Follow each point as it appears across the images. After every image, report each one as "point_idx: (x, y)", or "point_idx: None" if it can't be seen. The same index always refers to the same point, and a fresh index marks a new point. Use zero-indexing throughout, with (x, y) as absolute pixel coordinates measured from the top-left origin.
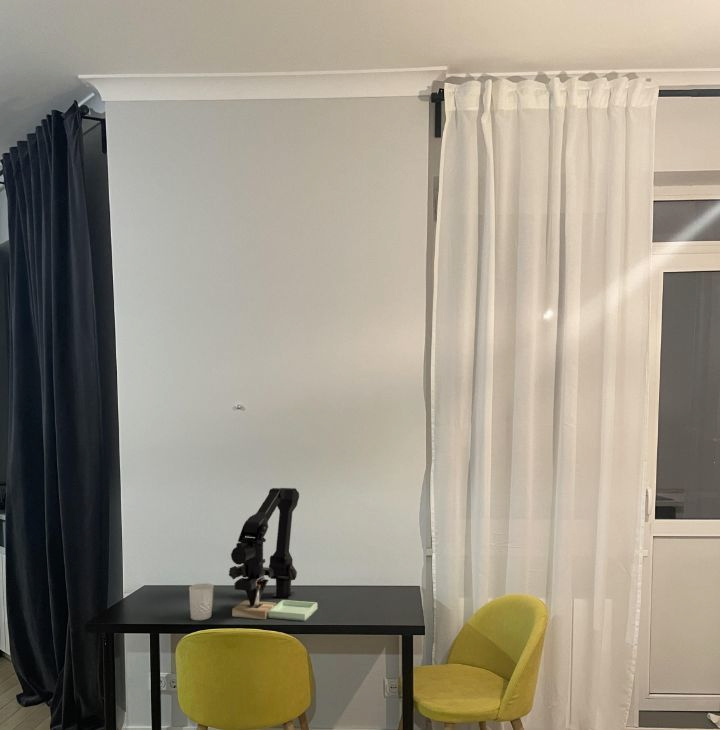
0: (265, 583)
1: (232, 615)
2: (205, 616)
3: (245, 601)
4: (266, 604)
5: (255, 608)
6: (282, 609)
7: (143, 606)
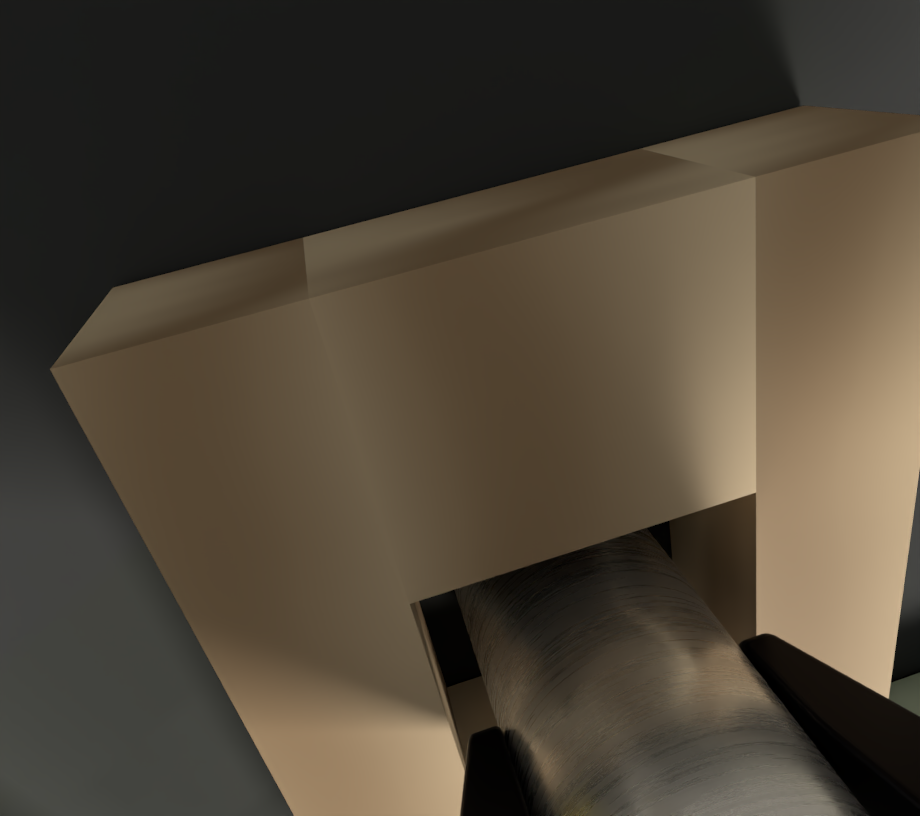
0: None
1: (107, 301)
2: None
3: (863, 235)
4: None
5: (449, 805)
6: None
7: None
